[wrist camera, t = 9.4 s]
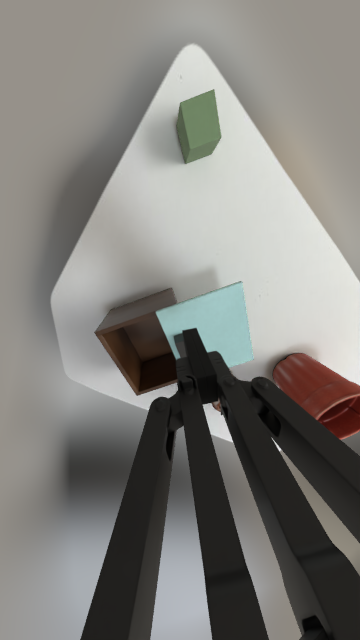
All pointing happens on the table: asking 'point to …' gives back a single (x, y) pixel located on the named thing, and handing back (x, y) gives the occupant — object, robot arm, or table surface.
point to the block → (198, 126)
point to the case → (140, 342)
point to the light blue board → (211, 324)
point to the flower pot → (321, 393)
